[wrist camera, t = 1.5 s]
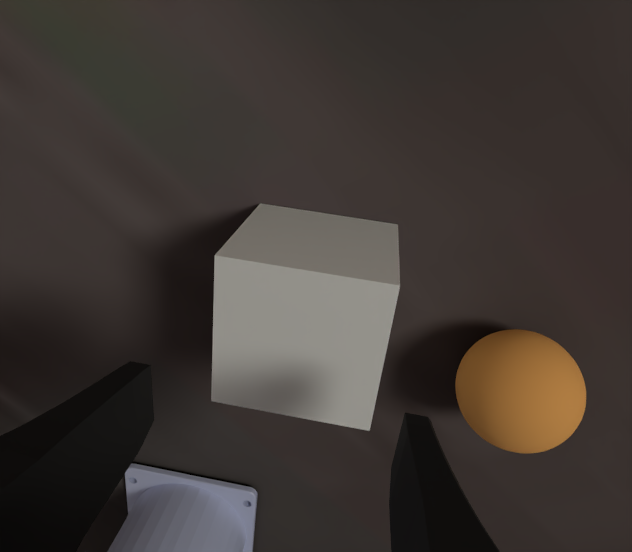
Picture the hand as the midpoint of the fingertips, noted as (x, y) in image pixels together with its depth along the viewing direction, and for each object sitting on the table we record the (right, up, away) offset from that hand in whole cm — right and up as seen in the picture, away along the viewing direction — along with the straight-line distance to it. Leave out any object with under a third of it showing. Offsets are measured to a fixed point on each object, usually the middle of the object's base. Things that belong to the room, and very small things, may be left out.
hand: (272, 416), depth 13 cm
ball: (+10, -1, +7) cm, 12 cm away
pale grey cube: (+1, +4, +9) cm, 10 cm away
